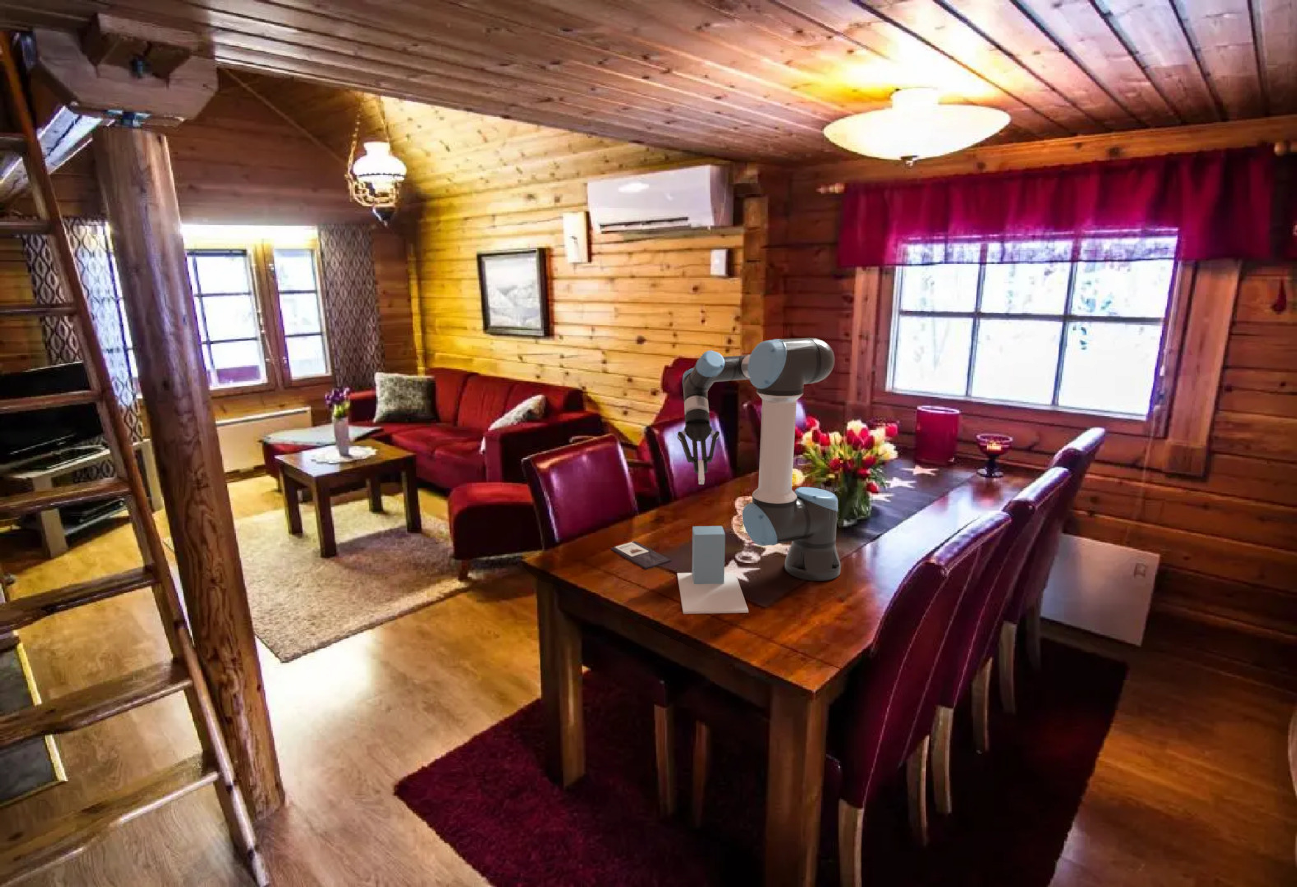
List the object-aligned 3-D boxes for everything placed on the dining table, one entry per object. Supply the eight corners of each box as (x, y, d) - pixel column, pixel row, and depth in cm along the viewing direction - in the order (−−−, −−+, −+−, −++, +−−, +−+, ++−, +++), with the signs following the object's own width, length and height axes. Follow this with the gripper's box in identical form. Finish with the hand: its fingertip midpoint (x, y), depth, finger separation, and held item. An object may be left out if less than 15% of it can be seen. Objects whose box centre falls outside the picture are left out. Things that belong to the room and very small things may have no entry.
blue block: (721, 573, 186) (722, 526, 183) (724, 583, 181) (725, 534, 177) (692, 574, 186) (692, 526, 183) (694, 584, 180) (694, 534, 177)
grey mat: (735, 574, 188) (735, 572, 187) (748, 612, 166) (748, 610, 166) (677, 575, 187) (677, 573, 187) (683, 613, 166) (683, 611, 166)
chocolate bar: (646, 567, 191) (610, 548, 205) (646, 571, 191) (610, 551, 205) (671, 560, 196) (635, 541, 210) (671, 563, 196) (635, 544, 210)
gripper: (716, 420, 212) (722, 487, 200) (675, 421, 212) (678, 488, 200) (719, 407, 206) (725, 475, 194) (676, 407, 205) (679, 476, 193)
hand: (701, 482), depth 197 cm, fingers closed
